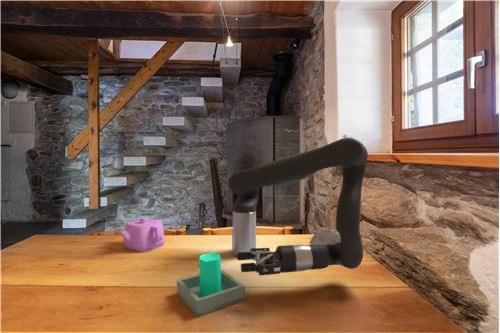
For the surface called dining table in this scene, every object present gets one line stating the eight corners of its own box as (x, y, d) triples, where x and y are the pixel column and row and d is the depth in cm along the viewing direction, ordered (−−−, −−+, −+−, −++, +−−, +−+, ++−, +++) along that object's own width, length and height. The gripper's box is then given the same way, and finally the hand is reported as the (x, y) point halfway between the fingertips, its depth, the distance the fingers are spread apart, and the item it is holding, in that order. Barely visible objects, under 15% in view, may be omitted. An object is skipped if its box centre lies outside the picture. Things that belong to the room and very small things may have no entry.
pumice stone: (345, 247, 121) (345, 224, 120) (348, 254, 113) (349, 229, 113) (308, 246, 123) (309, 223, 122) (310, 252, 115) (310, 228, 115)
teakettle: (163, 251, 117) (162, 221, 117) (118, 254, 113) (117, 224, 113) (165, 238, 134) (164, 212, 133) (126, 241, 130) (126, 214, 129)
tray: (177, 293, 82) (176, 280, 82) (219, 281, 90) (219, 268, 90) (197, 316, 70) (197, 301, 70) (244, 299, 78) (244, 285, 78)
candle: (204, 287, 84) (204, 247, 83) (224, 289, 82) (223, 248, 81) (195, 297, 78) (195, 254, 77) (216, 300, 76) (216, 256, 76)
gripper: (286, 238, 90) (236, 241, 88) (302, 254, 76) (242, 258, 74) (286, 261, 91) (236, 265, 88) (302, 281, 77) (242, 286, 74)
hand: (239, 261), depth 81 cm, fingers open, 8 cm apart
